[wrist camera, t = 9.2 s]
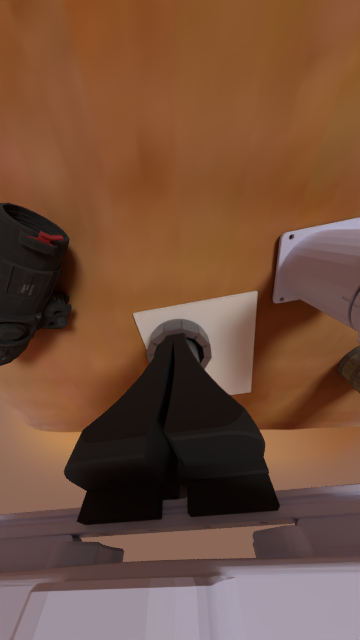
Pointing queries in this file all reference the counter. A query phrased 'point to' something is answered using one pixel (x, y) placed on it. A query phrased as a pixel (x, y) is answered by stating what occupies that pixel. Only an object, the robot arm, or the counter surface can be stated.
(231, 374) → the mat
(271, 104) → the counter surface
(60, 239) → the night vision scope
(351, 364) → the brown tall rounded block
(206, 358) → the grey bowl
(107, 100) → the counter surface
